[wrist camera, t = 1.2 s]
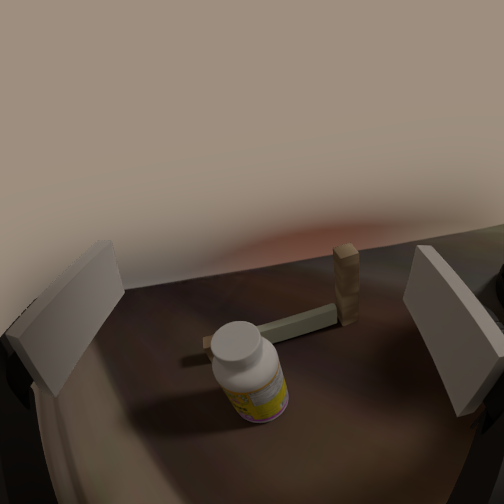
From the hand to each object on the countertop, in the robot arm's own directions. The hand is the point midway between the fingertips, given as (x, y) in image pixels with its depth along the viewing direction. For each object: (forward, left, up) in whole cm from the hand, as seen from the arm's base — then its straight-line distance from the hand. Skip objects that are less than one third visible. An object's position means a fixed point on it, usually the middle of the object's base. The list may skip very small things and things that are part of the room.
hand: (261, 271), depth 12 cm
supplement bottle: (+4, -8, -26) cm, 27 cm away
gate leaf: (-1, -18, -25) cm, 31 cm away
